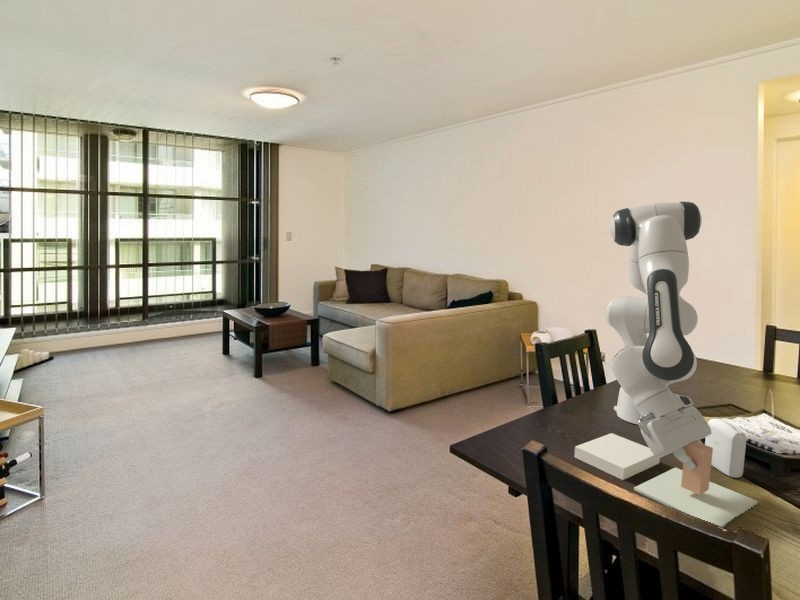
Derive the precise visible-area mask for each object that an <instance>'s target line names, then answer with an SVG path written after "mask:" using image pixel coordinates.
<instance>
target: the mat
mask: <svg viewBox="0 0 800 600" xmlns="http://www.w3.org/2000/svg"><path fill="white" fill-rule="evenodd" d="M682 472H683V469H680V468H678V467H674V468H671V469H669V470H667V471H665V472H663V473H661V474H659V475H657V476H655V477H653V478H651V479H649V480H647V481H644V482H642V483H641V484H638V485H637V486H634V487H633V491H635V492H637V493H639V494H641V495H643V496H645V497H647V498H650V499H652V500H654V501H655V502H658V503H659V504H662V505H664V506H666V507H668V508H670V507H671V508H670V509H672V508H674V509H676V510H679V511H681V512H684V513H686V514H689V515H691V516H694V517H697V518H700V519H702V520H705V521H708V522H711V523H714V524H716V525H719V526H721V527H722V528H724V527H725V526H727V525H728V524H729V523H728V522H730V521H731V520H732V519H734V518H735V517H737V516H739V515H740V514H742V513H743V514H744V513H746V512H747V511H749V510H750V509H752V508H753V507H755V506H756V505H758V504H757V503H758V502H759V501H758V500H756V499H754V498H752V497H749V496H746V495H744V494H741V493H738V492H736V491H734V490H732V489H729V488H727V487H725V486H721V485H719V484H717V483H714V482H712V481H710V482H709V490H707V491H706V492H704V493H702V494H700V495H699V494H696V493H694V492H692V491H690V490H687V489H685V488H683V487H681V482H682ZM754 505H755V506H754ZM751 507H752V508H751ZM674 509H673V510H674ZM748 509H749V510H748ZM676 510H675V511H676ZM745 511H746V512H745ZM743 514H742V515H743ZM740 516H741V515H740ZM740 516H739V517H740ZM737 518H738V517H737ZM734 520H735V519H734ZM731 522H732V521H731ZM731 522H730V523H731ZM727 523H728V524H727ZM726 524H727V525H726Z"/></svg>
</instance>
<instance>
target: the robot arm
mask: <svg viewBox="0 0 800 600" xmlns="http://www.w3.org/2000/svg"><path fill="white" fill-rule="evenodd" d="M702 221H703V219H702V214H701V211H700V209H699V206H698V205H697V204H695V203H694V202H691V201H679V202H658V203H653V204H648V205H641V206H634V207H630V208H628V207H626V208H622V209H619V210H617V211H615V212H614V214H613V215H612V219H611V221H610V225H609V226H610V227H609V231H610V235H611V237H612V238H613V241H614V243H615V244H618V245H619V246H623V247H629V249H628V250H629V251H628V263H629V264H628V271H629V274H628V277H629V278H628V279H629V281H630V284H631V286H632V287H634V288H635V289H636V290H638V291H640V292H642V293H643V294H645V295H646V296H647V297H638V296H637V297H636V296H621V297H620V296H619V297H613V298H612V299H611V300H610V301H609V302H608V304H607V305H606V307H605V308H606V309H605V314H604V315H605V319H606V322H607V324H609V325H610V326H611V327H612V328H613V329H614V330H615V332H616V333H617V334H618V335H619V337H620V338H621V339H622V342H623V345H624V348H622V349H621V350H620V351H618V352H617V353H616V354H615V355H614V357H613V358H612V360H611V362H610V368H611V371H612V373H613V375H614V377H615V379H616V381H617V382H618V384H619V386H620V388H619V392H618V399H617V405H614V406H613V410H614V411H615V412H616V415H617V417H618V418H620V419H621V420H623V421H625V422H628V423H631V424H635V425H638V427H639V428H640V433H641V435H642V437H643V439H644V441H645V443H646V445H647V447H648V448H650V450H651V451H652V453H653V454H654V455H655V456H656V457H658V458H660V459H661V458H663V457H665V456H668V455H670V454H671V453H672V454H673V456H674V457H675V458H676V459H677V460H678V461H680V462H681V463H682V464H683V463H684V464H685V465H686V467H687V468H688V469H689V470H691V469H694V468H696V467H697V466H698V464H697V463H696V461H695V460H694V459H691V458H690V457H689V456H688V455H687V454H686V453H685V452H686V451H685V446H686V445H689V444H691V443H693V442H698V443H701V444H703V445H705V443H703V442H702V440H703V439H705V438H706V437H707V436H709V435H711V434H712V432H711V428H710V426H709V425H708V422H707V420H706V418H705V417H704V416H703V415H702V414H701V412H700V411H699V410H698V408H696V407H695V406H693V405H694V401H693V400H692V399H691V398H690V396H688V395H682V394H681V395H680V394H677V393H674V392H672V390H671V389H670V388H669V385H672V384H675V383H679V382H683V381H686V380H688V379H689V378H691V377H692V376H693V375H694V373H695V372H696V370H697V367H698V361H697V360H698V359H697V357H696V354H695V353H694V351H693V349H692V347H691V346H690V344H689V343H688V341H687V339H686V338H685V336H689V335H690V334H691V333H692V332H693V331H695V329H696V327H697V326H698V321H699V320H698V319H699V318H698V313H697V310H696V308H695V307H694V306H693V305H692V304H691V303H690V302H687V301H686V300H685V299H684V298H683V297H682V296H681V294H680V293H681V291H682V289H683V288H684V287H685V286H686V285H687V283H688V280H689V279H688V278H689V272H690V270H689V269H690V260H689V259H690V258H689V252H688V245H687V241H689V240H691V239H694V238H695V237H696V236H697V235H698V234H699V233H700V230H701V227H702ZM647 334H648V335H647Z"/></svg>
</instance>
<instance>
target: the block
mask: <svg viewBox="0 0 800 600" xmlns="http://www.w3.org/2000/svg"><path fill="white" fill-rule="evenodd" d="M703 444H704V443H703ZM703 444H701V443H698V442H693V443H691V444H689V445H686V446H685V447H684V450H685V451H686V452H685V453H686V454H687V455H688V456H689V457H690V458H691V459H694V460H695V461H696V463H697V464H698V466H697V467H696V468H694V469H691V470H689V469H688V468H687V467H686V465H685V464H684V463H683V462H682V470H683V472H682V482H681V487H683V488H685V489H687V490H690V491H692V492H694V493H696V494H699V495H700V494H702V493H704V492H706V491H707V490H709V482H711V481H710V479H711V470H712V465H711V462H712V453H713V448H712V447H709V446H706V445H705V444H704V445H703Z"/></svg>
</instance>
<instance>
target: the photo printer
mask: <svg viewBox="0 0 800 600" xmlns="http://www.w3.org/2000/svg"><path fill="white" fill-rule="evenodd" d="M707 423H708V425H709V426H710V428H711V432H712V434H711V435H709V436H707V437H705V438H704V439H705V441H704V445H706V446H709V447H712V448H713V453H712V462H711V467H713V468H715V469H717V470H718V471H720V472H721V473H723V474H725V475H726V476H728V477H730V478H736V479H737V478H741V477H742V476H743V474H744V468H745V467H744V466H745V458H746V457H745V456H746V448H747V446H746V445H747V436H746V434H745V433H744V432H743V431H742V430H741V429H740V428H739V427H738V426H736V425H735V424H734V423H732V422H730V421H728V420H725V419H723V418H710V419H709V420H708V422H707Z"/></svg>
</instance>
